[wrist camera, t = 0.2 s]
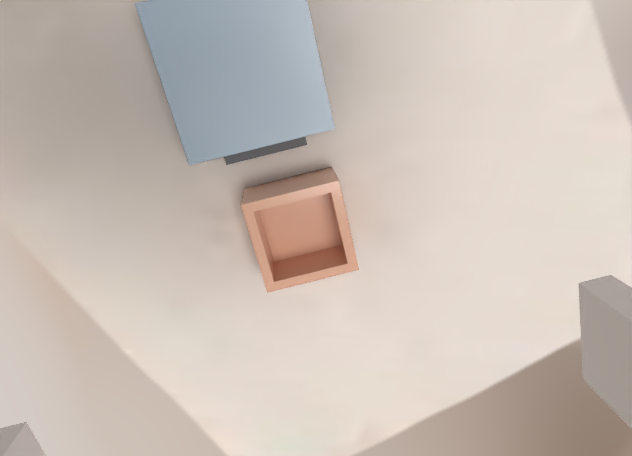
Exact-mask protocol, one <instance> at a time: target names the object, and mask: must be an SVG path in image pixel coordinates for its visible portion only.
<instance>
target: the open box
mask: <svg viewBox="0 0 632 456" xmlns="http://www.w3.org/2000/svg"><path fill="white" fill-rule="evenodd" d="M241 208H242V211H243V214H244V218H245V221H246V224H247V227H248V231H249V234H250V237H251V240H252V244H253V247H254V250H255V253H256V257H257V260H258V263H259V267H260V270H261V273H262V276H263V280H264V283H265V286H266V289H267V293H268V292H272V291H276V290H280V289H284V288H288V287H292V286H296V285H300V284H304V283H308V282H312V281H316V280H320V279H324V278H328V277H332V276H336V275H340V274H344V273H347V272H351V271H355V270H359V268H358V264H357V259H356V255H355V250H354V246H353V241H352V237H351V232H350V228H349V223H348V219H347V214H346V210H345V205H344V201H343V197H342V192H341V188H340V183H339V180H338V178H337V176H336V174H335V172H334V171H333V169H332V167H329V168H325V169H321V170H317V171H313V172H309V173H305V174H301V175H297V176H293V177H289V178H285V179H281V180H277V181H273V182H269V183H265V184H261V185H257V186H253V187H249V188H245V190H244V194H243V198H242V202H241Z"/></svg>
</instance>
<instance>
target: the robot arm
mask: <svg viewBox="0 0 632 456" xmlns="http://www.w3.org/2000/svg"><path fill="white" fill-rule="evenodd" d="M579 301H580V324H581V345H582V369H583V380H584V381H585V382H587V384H588V385H589V386H590V387H591V388H592V389H593V390H594V391H595V392H596V393H597V394H598V395H599V396H600V397H601V398H602V399H603V400H604V401H605V402H606V403H607V404H608V405H609V406H610V407H611V408H612V409H613V410H614V411H615V412H616V413H617V414H618V415H619V416H620V417H621V418H622V419H623V421H624V422H626V424H627V425H628V426H630V428H631V429H632V288H631V287H629V286H628V285H626V284H625V283H623V282H621V281H620V280H618V279H617V278H615V277H613V276H612V275H609V276H605V277H601V278H597V279H593V280H589V281H585V282H581V283H579ZM0 456H46V455H45V454H44V452H43V450H42V448H41V446H40V445H39V443H38V441H37V439H36V438H35V436H34V434H33V433H32V431H31V429H30V427H29V426H28V424H27V422H24V423H20V424H16V425H12V426H8V427H4V428H1V429H0Z"/></svg>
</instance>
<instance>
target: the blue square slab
mask: <svg viewBox="0 0 632 456" xmlns="http://www.w3.org/2000/svg"><path fill="white" fill-rule="evenodd" d="M135 5H136V8H137V11H138V14H139V17H140V20H141V23H142V26H143V29H144V32H145V35H146V38H147V41H148V44H149V47H150V50H151V53H152V56H153V59H154V62H155V65H156V68H157V71H158V74H159V77H160V80H161V83H162V86H163V89H164V92H165V95H166V98H167V101H168V104H169V106H170V109H171V112H172V115H173V118H174V121H175V124H176V127H177V130H178V133H179V136H180V139H181V142H182V145H183V148H184V151H185V154H186V157H187V160H188V163H189V165H193V164H197V163H201V162H205V161H209V160H213V159H217V158H221V157H225V156H229V155H233V154H237V153H241V152H245V151H249V150H253V149H257V148H261V147H265V146H269V145H273V144H277V143H281V142H285V141H289V140H293V139H297V138H301V137H305V136H309V135H313V134H317V133H321V132H325V131H329V130H333V129H335V126H334V122H333V117H332V112H331V108H330V103H329V99H328V94H327V90H326V85H325V80H324V76H323V71H322V67H321V62H320V57H319V53H318V48H317V44H316V39H315V34H314V30H313V25H312V21H311V16H310V11H309V7H308V2H307V0H147V1H143V2H139V3H135Z"/></svg>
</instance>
